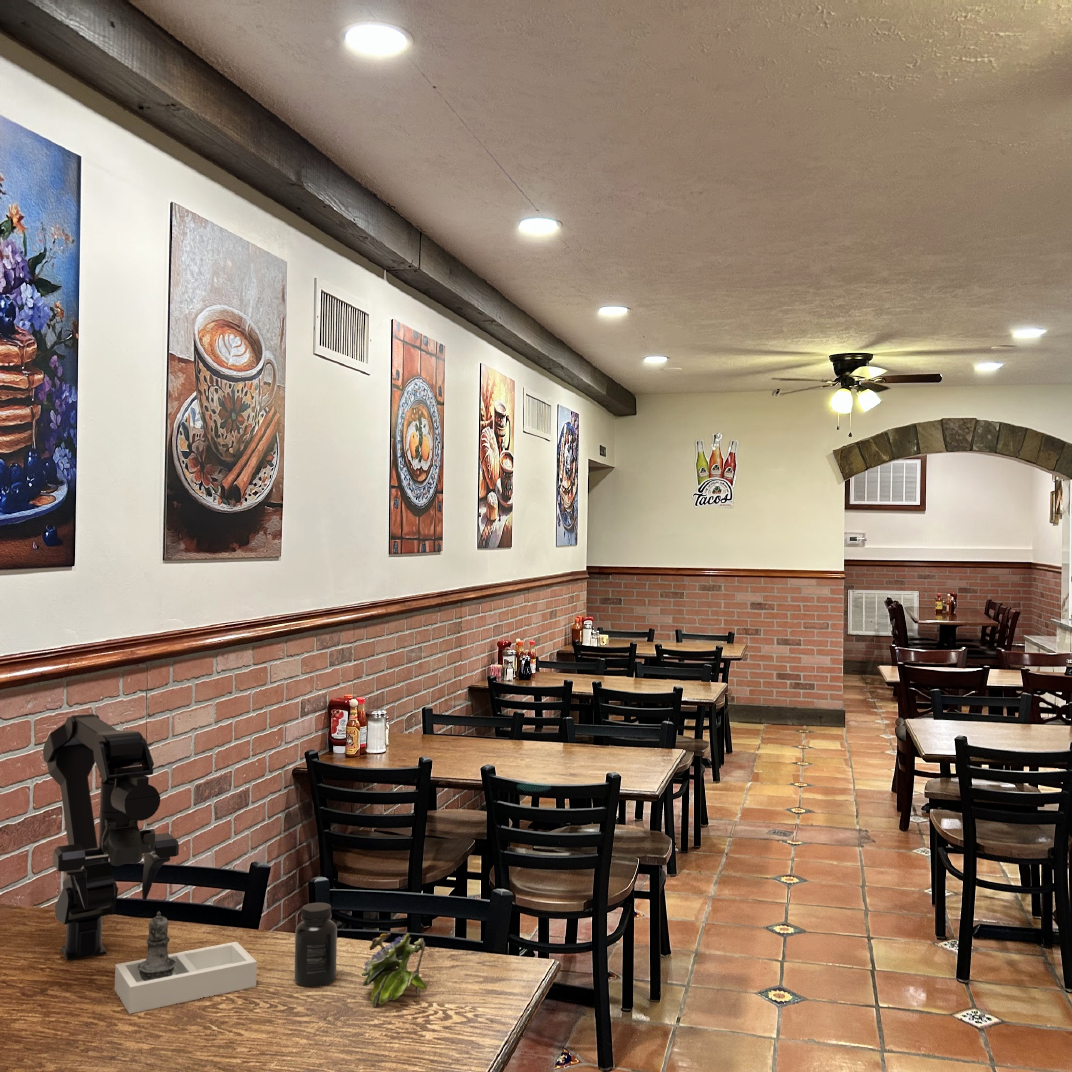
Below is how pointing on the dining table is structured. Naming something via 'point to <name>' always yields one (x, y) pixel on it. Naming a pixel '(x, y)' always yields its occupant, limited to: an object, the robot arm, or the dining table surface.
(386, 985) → the passion flower
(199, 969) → the condiment caddy
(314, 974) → the supplement bottle
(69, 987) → the dining table surface
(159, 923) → the grey stone turned post
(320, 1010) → the dining table surface
